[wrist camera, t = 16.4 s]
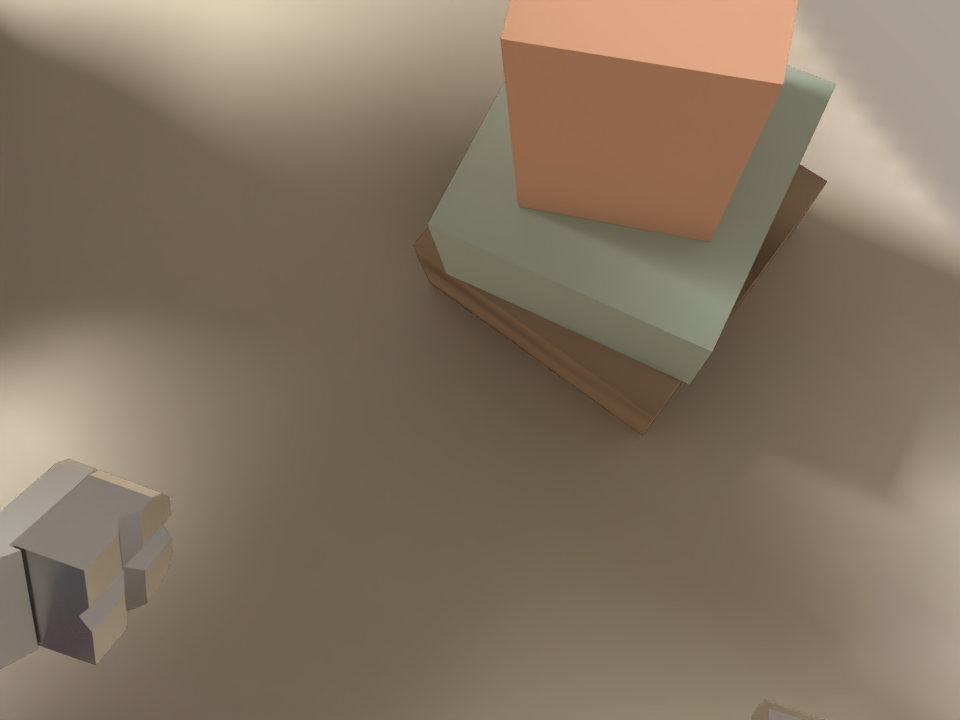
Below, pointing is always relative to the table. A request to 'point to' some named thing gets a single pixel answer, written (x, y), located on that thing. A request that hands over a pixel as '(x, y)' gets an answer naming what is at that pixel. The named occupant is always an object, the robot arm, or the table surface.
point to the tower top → (621, 244)
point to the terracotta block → (640, 105)
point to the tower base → (591, 364)
